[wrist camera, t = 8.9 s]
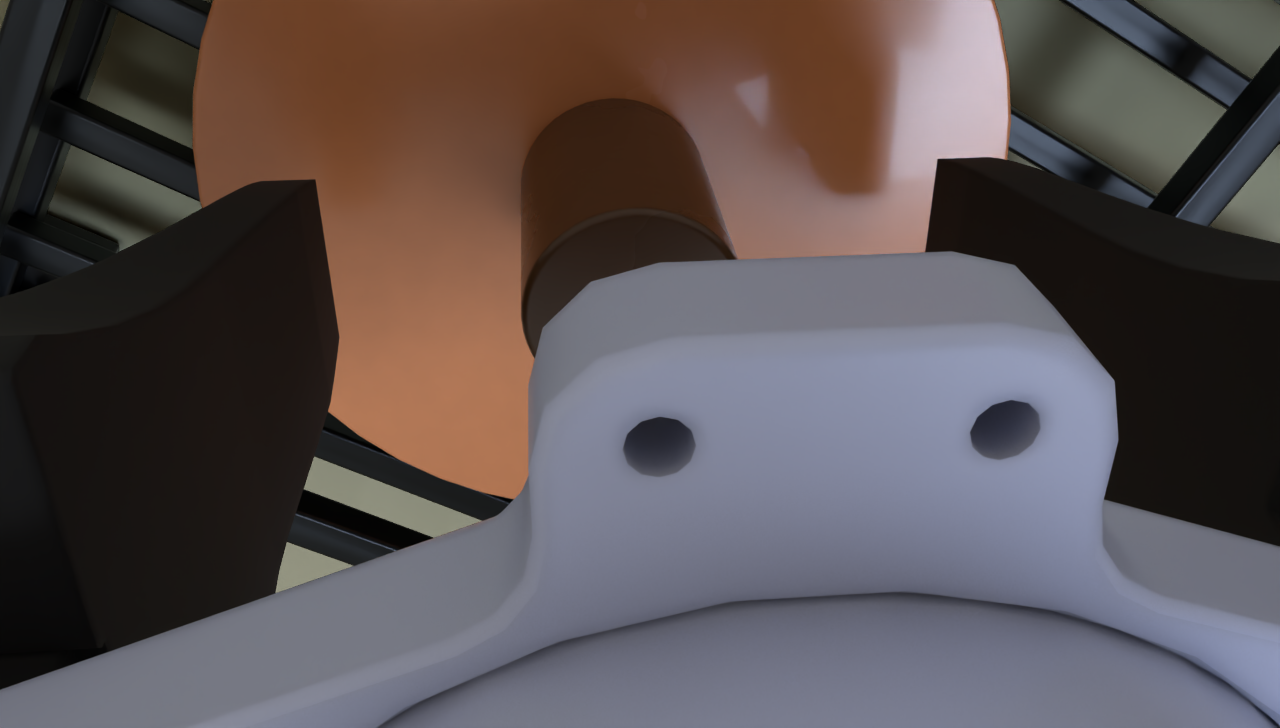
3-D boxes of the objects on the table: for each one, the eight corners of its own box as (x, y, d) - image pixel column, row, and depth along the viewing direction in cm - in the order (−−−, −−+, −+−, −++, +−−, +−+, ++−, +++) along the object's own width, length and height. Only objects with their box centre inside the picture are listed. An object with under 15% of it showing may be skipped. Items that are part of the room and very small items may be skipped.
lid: (1141, 1, 16) (1352, 115, 12) (727, 553, 20) (779, 774, 16) (413, -487, 12) (363, -560, 8) (103, 301, 17) (-28, 503, 13)
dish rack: (1533, 133, 20) (1928, 316, 14) (1008, 686, 25) (1143, 970, 20) (336, -738, 13) (198, -1038, 7) (-12, 282, 19) (-236, 541, 13)
